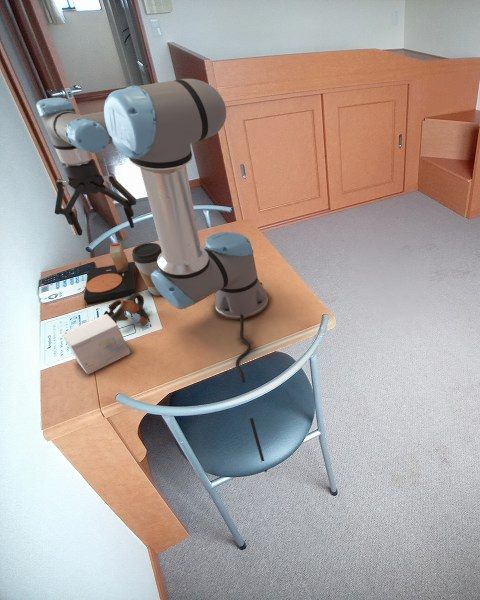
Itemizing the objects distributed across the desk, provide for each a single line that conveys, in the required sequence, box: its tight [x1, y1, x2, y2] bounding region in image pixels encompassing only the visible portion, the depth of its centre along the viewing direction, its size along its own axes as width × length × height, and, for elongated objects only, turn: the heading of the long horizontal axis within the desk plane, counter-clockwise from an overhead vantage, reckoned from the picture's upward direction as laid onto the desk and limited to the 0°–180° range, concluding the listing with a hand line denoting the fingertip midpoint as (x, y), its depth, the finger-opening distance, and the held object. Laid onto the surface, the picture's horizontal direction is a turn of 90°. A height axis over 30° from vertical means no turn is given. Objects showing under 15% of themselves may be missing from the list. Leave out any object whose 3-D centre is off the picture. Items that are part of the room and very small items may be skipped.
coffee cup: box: [131, 242, 162, 297], centre depth 129 cm, size 8×8×15 cm
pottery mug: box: [103, 292, 149, 327], centre depth 121 cm, size 12×10×8 cm
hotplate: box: [83, 261, 138, 306], centre depth 134 cm, size 18×15×3 cm
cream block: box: [109, 242, 130, 273], centre depth 135 cm, size 6×3×8 cm, turn 25°
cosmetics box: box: [61, 314, 131, 375], centre depth 107 cm, size 10×6×10 cm, turn 140°
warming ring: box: [85, 274, 122, 293], centre depth 131 cm, size 10×10×1 cm
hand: (107, 229), depth 129 cm, fingers open, 13 cm apart
